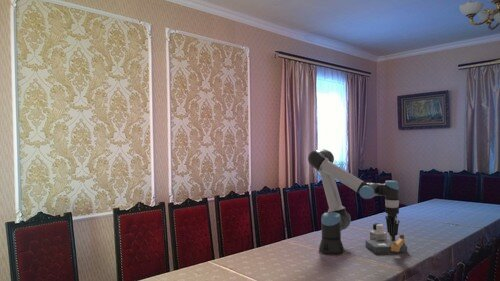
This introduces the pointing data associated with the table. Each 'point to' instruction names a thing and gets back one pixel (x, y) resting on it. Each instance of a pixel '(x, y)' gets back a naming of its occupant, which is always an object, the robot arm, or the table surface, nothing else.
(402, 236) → the bar
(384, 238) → the container
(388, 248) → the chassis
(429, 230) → the table surface
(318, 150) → the robot arm
